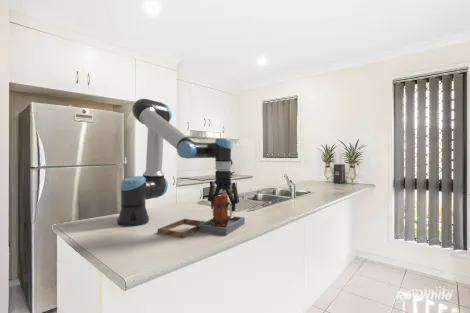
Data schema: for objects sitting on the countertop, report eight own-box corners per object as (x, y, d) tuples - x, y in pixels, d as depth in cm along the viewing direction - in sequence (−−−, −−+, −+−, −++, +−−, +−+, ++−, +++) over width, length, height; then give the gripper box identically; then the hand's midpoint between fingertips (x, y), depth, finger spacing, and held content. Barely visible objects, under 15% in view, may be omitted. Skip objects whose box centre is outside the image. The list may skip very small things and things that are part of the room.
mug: (226, 229, 114) (226, 196, 114) (209, 228, 116) (209, 195, 116) (233, 221, 128) (233, 191, 128) (218, 220, 130) (218, 191, 130)
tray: (199, 231, 116) (199, 224, 115) (220, 220, 135) (220, 214, 135) (226, 235, 110) (226, 228, 110) (244, 223, 129) (244, 217, 129)
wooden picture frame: (157, 233, 112) (157, 229, 112) (184, 222, 130) (184, 218, 130) (183, 237, 106) (183, 233, 106) (207, 225, 125) (207, 221, 125)
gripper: (200, 170, 123) (200, 216, 123) (240, 171, 114) (240, 221, 114) (207, 169, 130) (207, 212, 130) (246, 170, 121) (246, 217, 121)
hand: (223, 216), depth 122 cm, fingers open, 9 cm apart
